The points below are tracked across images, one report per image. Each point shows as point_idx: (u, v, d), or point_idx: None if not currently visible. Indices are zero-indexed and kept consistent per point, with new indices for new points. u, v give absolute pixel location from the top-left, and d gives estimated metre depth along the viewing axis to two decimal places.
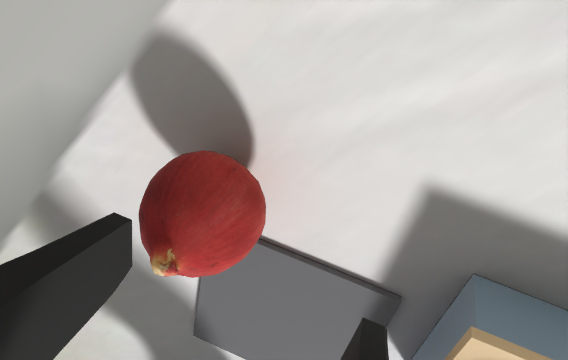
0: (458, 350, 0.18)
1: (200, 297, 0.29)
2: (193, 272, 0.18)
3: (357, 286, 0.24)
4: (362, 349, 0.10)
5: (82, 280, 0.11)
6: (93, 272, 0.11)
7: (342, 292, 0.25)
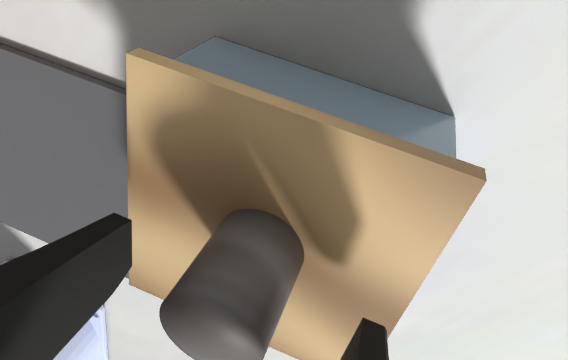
0: (128, 91, 0.12)
1: None
2: None
3: (97, 87, 0.18)
4: (362, 349, 0.10)
5: (82, 279, 0.11)
6: (93, 272, 0.11)
7: (85, 101, 0.19)
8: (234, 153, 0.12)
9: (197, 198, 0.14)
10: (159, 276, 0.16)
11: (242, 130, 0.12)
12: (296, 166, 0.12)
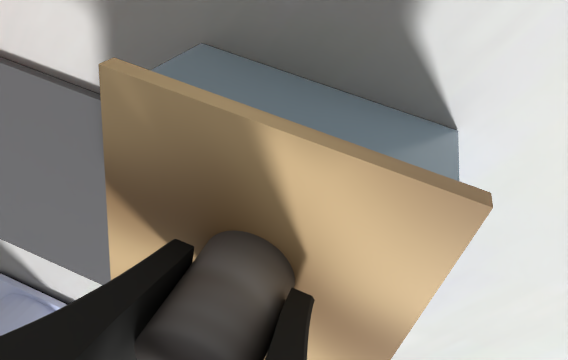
0: (103, 104, 0.11)
1: None
2: None
3: (79, 96, 0.17)
4: (283, 315, 0.10)
5: (151, 310, 0.11)
6: (160, 302, 0.11)
7: (67, 109, 0.18)
8: (217, 172, 0.11)
9: (180, 218, 0.13)
10: None
11: (225, 148, 0.11)
12: (285, 187, 0.11)
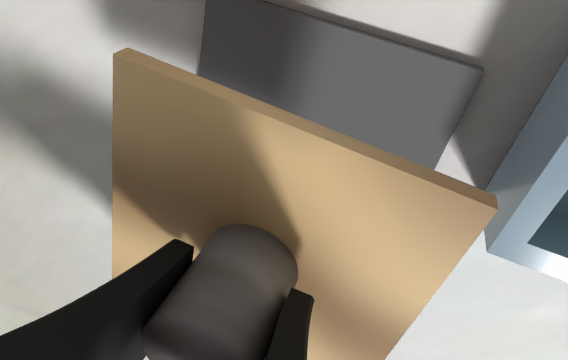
0: (115, 94, 0.11)
1: None
2: None
3: (419, 56, 0.17)
4: (283, 315, 0.10)
5: (151, 311, 0.11)
6: (160, 302, 0.11)
7: (397, 72, 0.17)
8: (227, 166, 0.11)
9: (186, 210, 0.13)
10: None
11: (237, 142, 0.11)
12: (294, 183, 0.11)
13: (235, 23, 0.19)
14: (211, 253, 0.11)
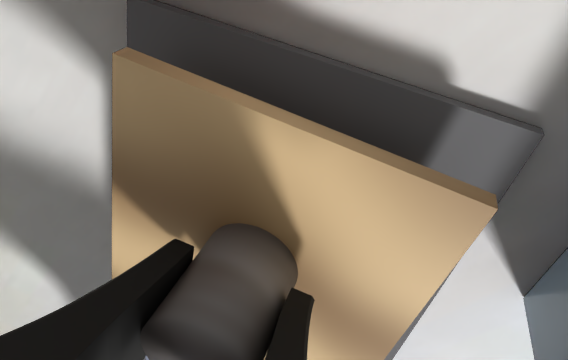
0: (114, 93, 0.11)
1: None
2: None
3: (443, 108, 0.11)
4: (283, 315, 0.10)
5: (151, 311, 0.11)
6: (160, 302, 0.11)
7: (408, 129, 0.12)
8: (227, 165, 0.11)
9: (186, 209, 0.13)
10: None
11: (236, 141, 0.11)
12: (293, 182, 0.11)
13: (170, 50, 0.13)
14: (211, 253, 0.11)
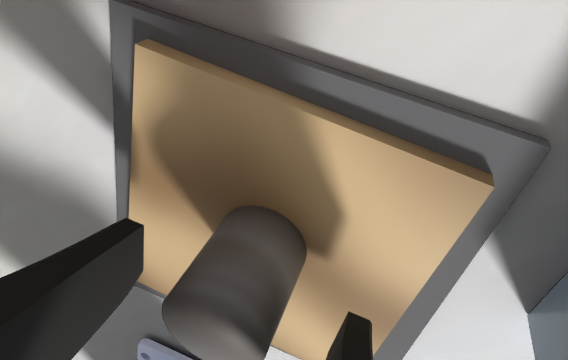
0: (136, 82, 0.12)
1: (120, 197, 0.16)
2: None
3: (443, 119, 0.10)
4: (346, 342, 0.10)
5: (96, 285, 0.11)
6: (106, 278, 0.11)
7: (406, 140, 0.11)
8: (241, 149, 0.12)
9: (201, 193, 0.13)
10: (158, 269, 0.16)
11: (250, 127, 0.12)
12: (304, 165, 0.12)
13: None
14: (226, 232, 0.12)
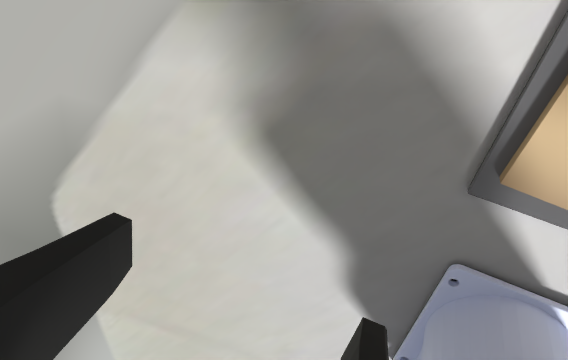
0: None
1: (527, 96, 0.16)
2: None
3: None
4: (362, 349, 0.10)
5: (82, 279, 0.11)
6: (93, 272, 0.11)
7: None
8: None
9: None
10: (552, 170, 0.17)
11: None
12: None
13: None
14: None
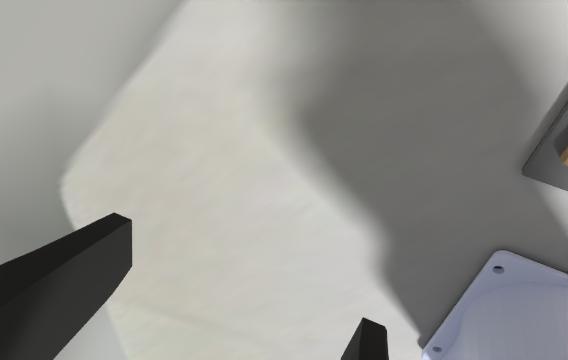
0: None
1: None
2: None
3: None
4: (362, 349, 0.10)
5: (82, 279, 0.11)
6: (93, 272, 0.11)
7: None
8: None
9: None
10: None
11: None
12: None
13: None
14: None
